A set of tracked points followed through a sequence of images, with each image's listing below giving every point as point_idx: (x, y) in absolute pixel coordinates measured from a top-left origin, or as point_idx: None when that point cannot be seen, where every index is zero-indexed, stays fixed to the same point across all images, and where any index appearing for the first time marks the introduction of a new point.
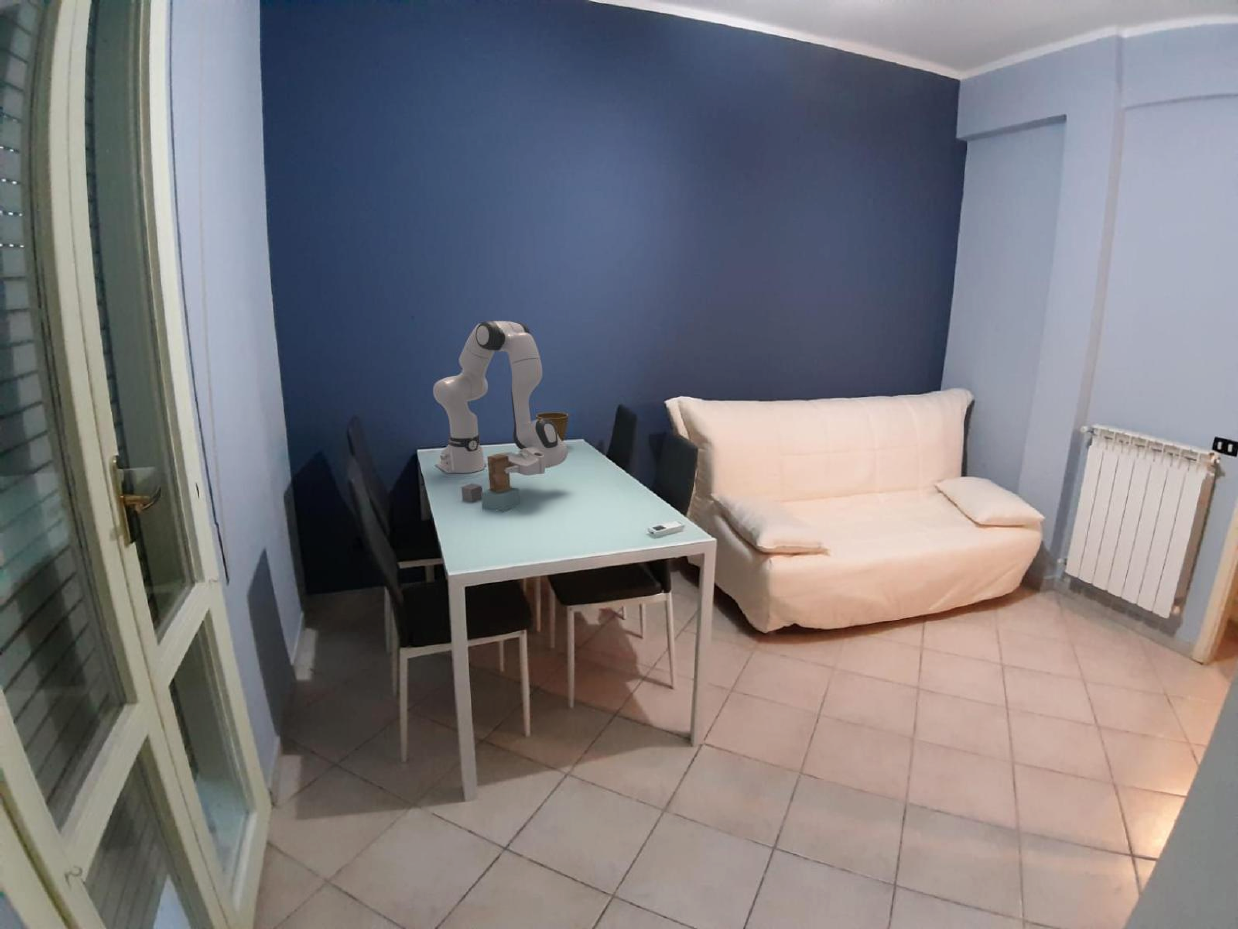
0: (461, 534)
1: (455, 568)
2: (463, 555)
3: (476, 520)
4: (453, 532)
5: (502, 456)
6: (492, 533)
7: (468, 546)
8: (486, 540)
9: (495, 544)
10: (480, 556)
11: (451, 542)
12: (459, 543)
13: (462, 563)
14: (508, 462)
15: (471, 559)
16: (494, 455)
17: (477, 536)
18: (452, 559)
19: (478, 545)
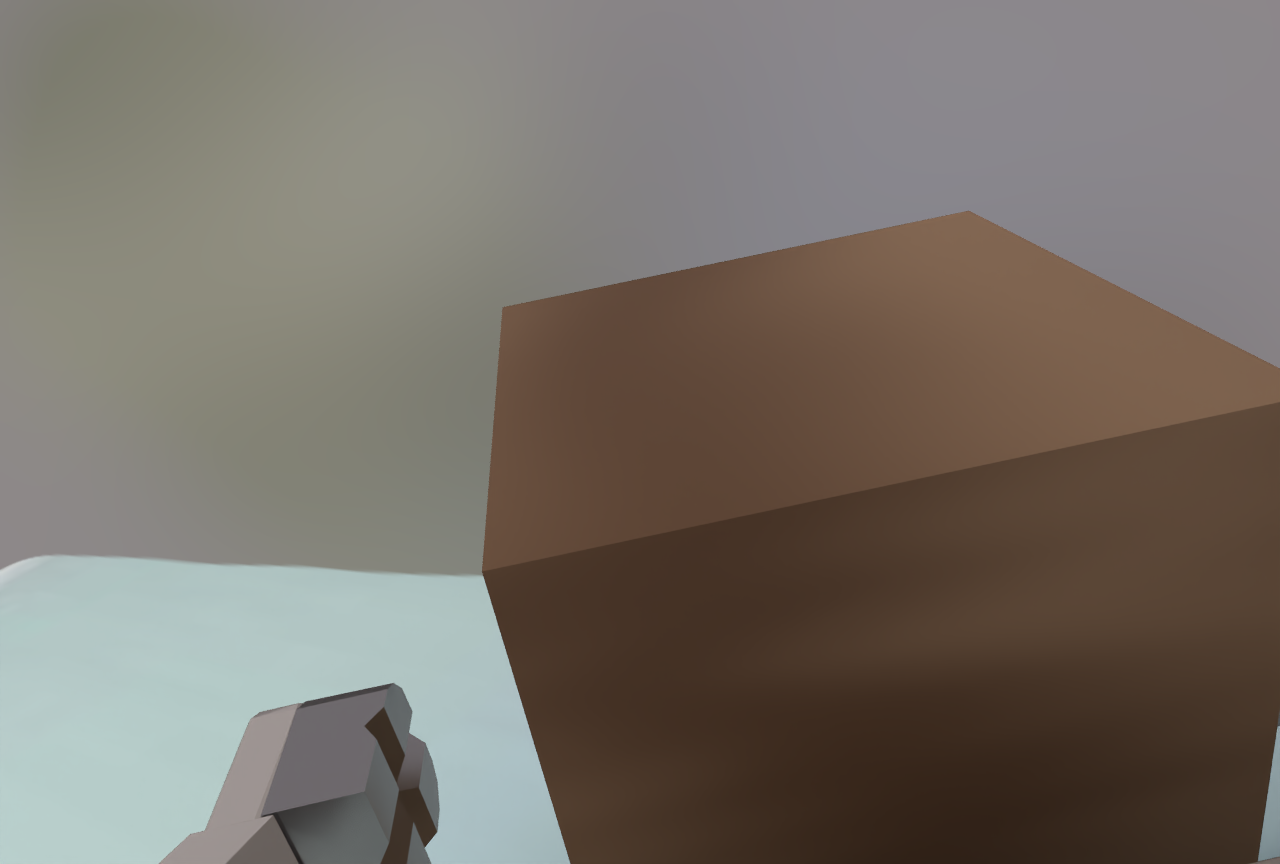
0: (390, 639)
1: (63, 557)
2: (124, 600)
3: None
4: (472, 608)
5: (620, 415)
6: (170, 821)
7: (184, 638)
8: (125, 745)
9: (3, 776)
10: (7, 661)
11: (336, 579)
12: (277, 609)
13: (63, 584)
14: (569, 837)
15: (41, 621)
16: (1007, 289)
17: (249, 713)
18: (151, 559)
19: (127, 685)
